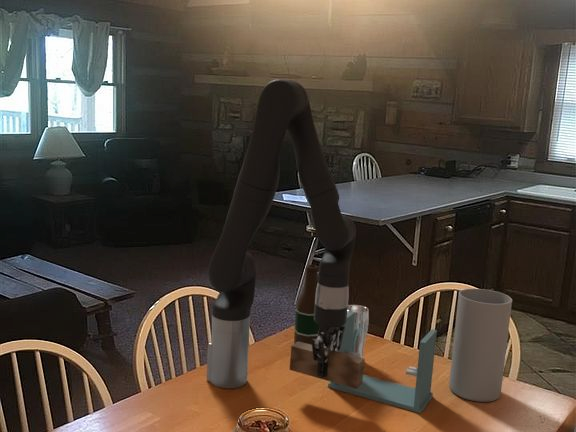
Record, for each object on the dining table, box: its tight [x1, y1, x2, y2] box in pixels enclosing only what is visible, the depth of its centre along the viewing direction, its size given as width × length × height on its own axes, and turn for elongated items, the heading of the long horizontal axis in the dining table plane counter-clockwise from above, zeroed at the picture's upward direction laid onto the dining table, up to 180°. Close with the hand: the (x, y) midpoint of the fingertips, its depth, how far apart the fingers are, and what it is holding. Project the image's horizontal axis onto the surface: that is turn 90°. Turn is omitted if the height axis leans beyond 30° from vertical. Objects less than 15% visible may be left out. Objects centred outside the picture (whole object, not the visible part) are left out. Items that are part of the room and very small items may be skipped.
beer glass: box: [347, 304, 370, 358], centre depth 171 cm, size 7×7×15 cm
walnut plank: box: [289, 341, 365, 389], centre depth 145 cm, size 17×4×6 cm, turn 63°
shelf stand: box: [327, 312, 438, 414], centre depth 152 cm, size 24×10×17 cm, turn 62°
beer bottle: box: [293, 264, 320, 345], centre depth 179 cm, size 8×8×24 cm
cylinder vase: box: [448, 288, 513, 403], centre depth 155 cm, size 12×12×25 cm
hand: (325, 372), depth 146 cm, fingers closed on walnut plank, 3 cm apart
